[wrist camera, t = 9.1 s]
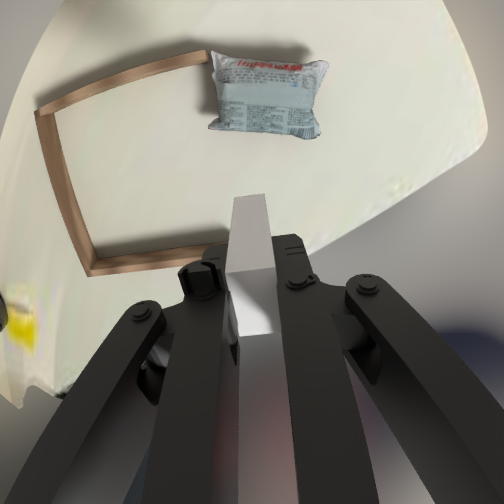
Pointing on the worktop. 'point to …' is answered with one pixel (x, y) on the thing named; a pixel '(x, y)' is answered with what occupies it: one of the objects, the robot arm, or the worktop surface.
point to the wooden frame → (65, 189)
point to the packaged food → (267, 96)
